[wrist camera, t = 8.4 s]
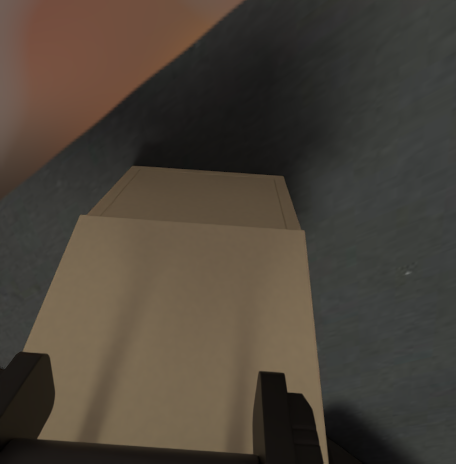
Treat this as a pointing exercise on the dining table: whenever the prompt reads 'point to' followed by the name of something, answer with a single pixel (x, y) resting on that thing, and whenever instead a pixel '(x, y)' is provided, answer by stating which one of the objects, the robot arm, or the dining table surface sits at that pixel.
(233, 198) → the tan lidded cardboard box
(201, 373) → the lid
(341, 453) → the flower pot
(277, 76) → the dining table surface
